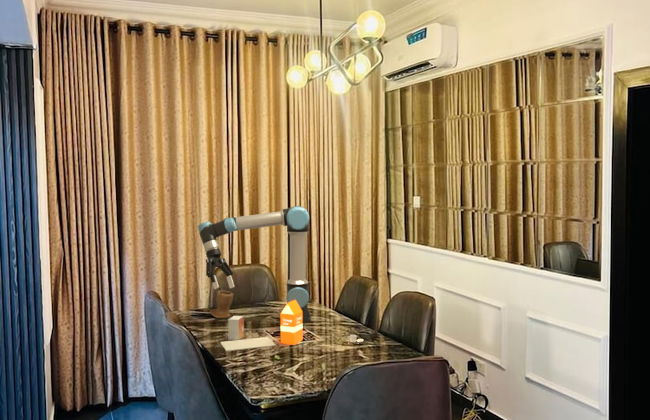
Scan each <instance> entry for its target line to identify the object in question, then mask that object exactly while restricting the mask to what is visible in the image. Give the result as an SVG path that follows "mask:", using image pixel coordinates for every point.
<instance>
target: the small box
mask: <svg viewBox="0 0 650 420" xmlns="http://www.w3.org/2000/svg"><path fill="white" fill-rule="evenodd" d="M244 317H245V316H244V315H233V316H232V317H231V316H230V317H229V318H227V324H228V325H227V328H228V329H227V332H228V335H227V336H228V338H227V339H228V341H234V340H242V338H244V337H245V318H244Z"/></svg>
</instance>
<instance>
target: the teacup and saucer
mask: <svg viewBox="0 0 650 420" xmlns="http://www.w3.org/2000/svg"><path fill="white" fill-rule="evenodd" d="M347 341H350V343H351V342H356V341H357V342H362V343H364V342H363V341H364V339H363V338H358V339H357V335H356V334H350V335H349V336H348V335H347ZM357 342H356V343H357Z"/></svg>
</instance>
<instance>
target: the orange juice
mask: <svg viewBox="0 0 650 420" xmlns="http://www.w3.org/2000/svg"><path fill="white" fill-rule="evenodd" d="M303 323H304V322H303ZM303 323H302V310H301V308H300V307H299V305H298V303H297V302H296V300H293V301H291V302H288V303H287V302H286V304H285V306H284V307H283V309H282V311H281V312H280V344H285V345H293V346H294V345H297V344H298V343H300V342H302V341H303V340H304V339H303V336H304V335H303V331H304V330H303Z"/></svg>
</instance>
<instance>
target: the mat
mask: <svg viewBox="0 0 650 420" xmlns="http://www.w3.org/2000/svg"><path fill="white" fill-rule="evenodd" d="M219 343H220V345H221V346H222V347H223V349H224V350H225V352H232V351H239V350H240V351H241V350H243V351H244V350H250V349H260V348H267V347H269V348H271V347H276V346H277V344H276V343H275V342H274V341H273V340H272V339H271V338H270V337H269V336H264V337H256V338H255V337H254V338H245V339H240V340H227V341H226V340H225V341H220V342H219Z"/></svg>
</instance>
